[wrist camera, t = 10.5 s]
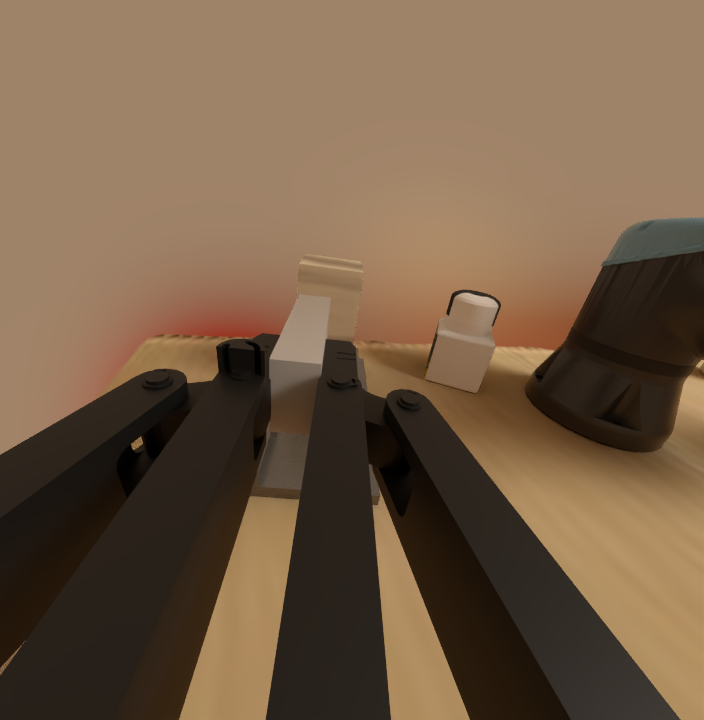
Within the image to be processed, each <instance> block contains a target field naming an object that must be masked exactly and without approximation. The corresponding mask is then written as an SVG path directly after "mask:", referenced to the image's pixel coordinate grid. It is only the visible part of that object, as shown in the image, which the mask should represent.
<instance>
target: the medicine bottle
mask: <svg viewBox="0 0 704 720" xmlns="http://www.w3.org/2000/svg"><path fill="white" fill-rule="evenodd" d="M500 307H501V304H500V302H499V301H498V300H497V299H496V298H495V297H493V296H491V295H488V294H485V293H482V292H478V291H472V290H460V291H456V292H454V293H453V294H452V296H451V299H450V303H449V306H448V309H447V313H446V316H445V318H443V317H442V318H440V320H439V323H438V326H437V330H436V333H435V337H434V340H433V344H432V347H431V351H430V354H429V357H428V362H427V366H426V371H425V375H424V379H425V380H428V381H432V382H435V383H439V384H443V385H446V386H450V387H454V388H457V389H461V390H464V391H468V392H472V393H477V392H478V390H479V388H480V385H481V383H482V380H483V378H484V375H485V373H486V370H487V368H488V365H489V363H490V360H491V358H492V355H493V353H494V350H495V347H496V346H495V343H494V339H493V336H492V332H491V331H492V328H493V326H494V323H495V320H496V318H497V315H498V312H499V310H500Z"/></svg>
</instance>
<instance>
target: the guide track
mask: <svg viewBox="0 0 704 720" xmlns="http://www.w3.org/2000/svg"><path fill="white" fill-rule="evenodd" d="M356 357H357V371H358V379H359V380H360V381H361V384H362V388H363V389H364V390H365V391H367V386H366V378H365V370H364V362H363V359H360V358H359V357H358V348H356ZM266 437H267V438H266V446H265V449H264V452H263V455H262V459H261V462H260V465H259V468H258V471H257V474H256V477H255V481H254V484H253V487H252V490H251V493H250V496H263V497H276V498H290V499H300V494H301V487H302V481H303V474H304V468H305V461H306V455H307V448H308V442H309V435H306V434H294V433H281V432H270V421H269V424H268V427H267V430H266ZM369 472H370V484H371V495H372V505H378V502H379V498H380V492H379V486H378V483H377V481H376V478H375V475H374V473H373V469H372V465H371V464H369Z"/></svg>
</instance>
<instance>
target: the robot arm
mask: <svg viewBox="0 0 704 720" xmlns="http://www.w3.org/2000/svg"><path fill="white" fill-rule="evenodd" d="M601 266H603V267H602V269H601V271H600V273H599V275H598V277H597V279H596V282H595V283H594V285H593V287H592V289H591V291H590V293H589V295H588V297H587V299H586V301H585V303H584V305H583V307H582V309H581V311H580V313H579V314H578V316H577V318H576V320H575V322H574V324H573V326H572V328H571V330H570V332H569V334H568V336H567V338H566V340H565V341H564V342H563V344H562V345H561V346H560V347H558V348H557V349H556V350H555V351H554V352H553V353H552V354H551V355H550V356H549V357H548V358H547V359H546V360H545V361H544V362H543V363H542V364H541V365H540V366H539V367H538V368H537V369H536V370H535V371H534V372H533V373H532V375H531V377H530V379H529V381H528V383H527V385H526V393H527V395H528V397H529V398H530V400H531V401H532V402H533V403H534V404H535V405H536V406H537V407H538V408H539V409H540V410H541V411H543V412H544V413H545V414H547V415H548V416H549V417H551V418H552V419H554V420H555V421H557V422H559V423H560V424H562V425H564V426H565V427H567V428H569V429H571V430H573V431H575V432H577V433H579V434H581V435H583V436H586V437H588V438H590V439H593V440H595V441H598V442H601V443H604V444H607V445H610V446H613V447H617V448H621V449H625V450H631V451H639V452H650V451H655V450H657V449H659V448H660V447H661V446H662V445H663V444H664V442H665V441H666V440H667V439H668V438H669V436H670V435H671V433H672V431H673V429H674V424H675V420H676V415H677V410H678V406H679V401H680V397H681V392H682V388H683V384H684V382H685V380H686V379H687V377H688V376H689V375H690V373H691V372H692V371H693V369H694V368H695V367H696V365H697V364H698V363H699V362H700V361H701V360H704V217H703V218H674V219H673V218H672V219H657V220H648V221H643V222H639V223H636V224H634V225H632V226H630V227H629V228H627V229H626V230H625V231H624V232H623V233H622V234H621V235H620V237H619V238H618V240H617V242H616V244H615V245H614V247H613V249H612V250H611V252H610V254H609V255H608V257H607V259H606V261H604V262H603V263H602V265H601ZM330 302H331V298H329V297H320V296H311V295H302V294H300V295H299V297H298V299H297V301H296V303H295V305H294V308H293V309H292V312H291V314H290V316H289V318H288V320H287V322H286V324H285V326H284V329H283V331H282V333H281V335H273V334H264V333H262V334H260V335H258V336H256V337H254V338H253V339H252V340H251V339H233V340H228V341H225V342H222V343H220V344H219V345H217V346H216V349H217V358H218V368H219V372H218V374H217V375H216V377H215V378H214V379H213V380H212V381H206V382H196V383H187V378H186V376H185V375H184V373H183V372H180V371H178V370H173V369H155V370H153V371H148V372H145V373H143V374H140V375H138V376H136V377H134V378H132V379H131V380H129V381H127V382H126V383H124V384H122V385H120V386H119V387H117V388H115V389H113V390H112V391H110V392H108V393H107V394H105V395H103V396H101V397H100V398H98V399H96V400H94V401H93V402H91V403H89V404H88V405H86V406H84V407H82V408H81V409H79V410H77V411H75V412H74V413H72V414H70V415H69V416H67V417H65V418H64V419H62V420H60V421H58V422H56V423H55V424H53V425H51V426H50V427H48V428H46V429H44V430H43V431H41V432H39V433H37V434H36V435H34V436H33V437H30V438H29V439H27V440H25V441H23V442H22V443H20V444H18V445H17V446H15V447H13V448H12V449H10V450H8V451H6V452H5V453H3V454H1V455H0V667H1V666H2V665H3V664H4V663H5V662H6V661H7V660H8V659H9V658H10V657H11V655H12V654H13V653H14V652H15V651H16V650H17V649H18V648H19V647H20V646H21V645H22V644H23V643H24V644H23V645H22V646H21V648H20V649H19V650H18V652H17V653H16V655H15V656H14V657H13V659H12V660H11V662H10V663H9V664H8V666H7V667H6V669H5V670H4V671H3V673H2V674H1V675H0V720H179V718H180V714H181V711H182V708H183V705H184V702H185V699H186V695H187V692H188V689H189V686H190V683H191V680H192V677H193V673H194V670H195V667H196V664H197V661H198V658H199V654H200V651H201V648H202V645H203V642H204V639H205V635H206V632H207V629H208V626H209V623H210V620H211V616H212V613H213V610H214V607H215V604H216V601H217V598H218V594H219V591H220V588H221V585H222V582H223V579H224V575H225V572H226V569H227V566H228V563H229V560H230V556H231V553H232V550H233V547H234V544H235V541H236V538H237V534H238V531H239V528H240V525H241V522H242V519H243V515H244V512H245V509H246V506H247V503H248V500H249V496H250V493H251V490H252V487H253V484H254V481H255V477H256V474H257V471H258V468H259V465H260V462H261V459H262V455H263V452H264V449H265V446H266V438H267V437H266V430H267V427H268V424H269V421H270V432H281V433H294V434H306V435H309V442H308V448H307V455H306V461H305V468H304V474H303V481H302V487H301V494H300V500H299V507H298V513H297V520H296V526H295V533H294V539H293V546H292V552H291V559H290V565H289V572H288V578H287V585H286V591H285V598H284V604H283V611H282V617H281V624H280V630H279V637H278V643H277V650H276V656H275V663H274V669H273V676H272V682H271V689H270V695H269V702H268V709H267V715H266V720H391V715H390V704H389V692H388V680H387V669H386V657H385V646H384V634H383V623H382V611H381V599H380V588H379V576H378V565H377V553H376V542H375V530H374V518H373V507H372V495H371V484H370V472H369V464H371V465H372V469H373V473H374V475H375V478H376V481H377V483H378V486H379V488H380V491H381V493H382V496H383V498H384V501H385V504H386V506H387V509H388V511H389V514H390V516H391V519H392V521H393V524H394V527H395V529H396V532H397V534H398V537H399V539H400V542H401V544H402V547H403V550H404V552H405V555H406V557H407V560H408V562H409V565H410V567H411V570H412V573H413V575H414V578H415V580H416V583H417V585H418V588H419V590H420V593H421V596H422V598H423V601H424V603H425V606H426V608H427V611H428V613H429V616H430V618H431V621H432V624H433V626H434V629H435V631H436V634H437V636H438V639H439V641H440V644H441V647H442V649H443V652H444V654H445V657H446V659H447V662H448V664H449V667H450V670H451V672H452V675H453V677H454V680H455V682H456V685H457V687H458V690H459V693H460V695H461V698H462V700H463V703H464V705H465V708H466V710H467V713H468V716H469V718H470V720H680V719H679V717H678V716H677V715H676V713H675V712H674V711H673V710H672V708H671V707H670V706H669V705H668V703H667V702H666V701H665V699H664V698H663V697H662V696H661V694H660V693H659V692H658V691H657V689H656V688H655V687H654V685H653V684H652V683H651V682H650V680H649V679H648V678H647V677H646V675H645V674H644V673H643V671H642V670H641V669H640V668H639V666H638V665H637V664H636V663H635V661H634V660H633V659H632V657H631V656H630V655H629V654H628V652H627V651H626V650H625V649H624V647H623V646H622V645H621V643H620V642H619V641H618V640H617V638H616V637H615V636H614V635H613V633H612V632H611V631H610V629H609V628H608V627H607V626H606V624H605V623H604V622H603V621H602V619H601V618H600V617H599V615H598V614H597V613H596V612H595V610H594V609H593V608H592V607H591V605H590V604H589V603H588V601H587V600H586V599H585V598H584V596H583V595H582V594H581V593H580V591H579V590H578V589H577V588H576V586H575V585H574V584H573V582H572V581H571V580H570V579H569V577H568V576H567V575H566V574H565V572H564V571H563V570H562V568H561V567H560V566H559V565H558V563H557V562H556V561H555V560H554V558H553V557H552V556H551V554H550V553H549V552H548V551H547V549H546V548H545V547H544V546H543V544H542V543H541V542H540V540H539V539H538V538H537V537H536V535H535V534H534V533H533V532H532V530H531V529H530V528H529V526H528V525H527V524H526V523H525V521H524V520H523V519H522V518H521V516H520V515H519V514H518V512H517V511H516V510H515V509H514V507H513V506H512V505H511V504H510V502H509V501H508V500H507V498H506V497H505V496H504V495H503V493H502V492H501V491H500V490H499V488H498V487H497V486H496V484H495V483H494V482H493V481H492V479H491V478H490V477H489V476H488V474H487V473H486V472H485V470H484V469H483V468H482V467H481V465H480V464H479V463H478V462H477V460H476V459H475V458H474V456H473V455H472V454H471V453H470V451H469V450H468V449H467V448H466V446H465V445H464V444H463V442H462V441H461V440H460V439H459V437H458V436H457V435H456V434H455V432H454V431H453V430H452V428H451V427H450V426H449V425H448V423H447V422H446V421H445V420H444V418H443V417H442V416H441V414H440V413H439V412H438V411H437V409H436V408H435V407H434V406H433V404H432V403H431V402H430V401H429V400H428V399H427V398H426V397H425V396H423V395H421V394H419V393H418V392H415V391H412V390H404V389H399V390H394V391H392V392H390V393H388V395H387V397H386V399H385V398H382V397H378V396H375V395H373V394H370V393H369V392H367V391H365V390H364V389H363V388H362V384H361V381H360V380H359V379H358V371H357V357H356V347H355V346H354V345H353V344H352V343H351V342H350V341H341V340H332V339H327V335H328V324H329V313H330ZM140 436H141V437H142V441H143V444H142V445H141V446H140V447H139V448H137V449H135V450H133V449H132V447H131V443H133V442H134V441H135V440H136V439H138V438H139V437H140ZM25 640H26V641H25ZM24 641H25V642H24Z"/></svg>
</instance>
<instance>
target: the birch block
mask: <svg viewBox="0 0 704 720" xmlns="http://www.w3.org/2000/svg"><path fill="white" fill-rule="evenodd" d="M363 277H364V271H363V267H362V264H361V262H360V261H353V260H345V259H339V258H331V257H325V256H317V255H311V254H306V255H305V256H304V257H303V259H302V260H301V262H300V263H299V268H298V285H297V299H298V297H299V295H300V294H302V295H311V296H320V297H329V298H331V302H330V313H329V324H328V335H327V339H332V340H341V341H350V342H351V343H352V344H353V341H354V334H355V328H356V321H357V315H358V309H359V302H360V296H361V290H362V283H363Z"/></svg>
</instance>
